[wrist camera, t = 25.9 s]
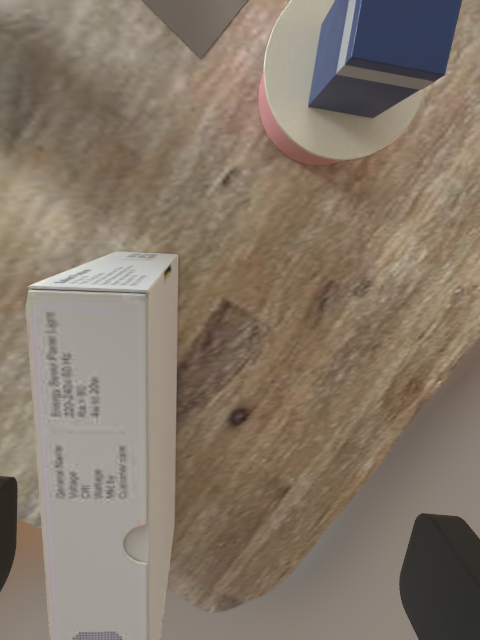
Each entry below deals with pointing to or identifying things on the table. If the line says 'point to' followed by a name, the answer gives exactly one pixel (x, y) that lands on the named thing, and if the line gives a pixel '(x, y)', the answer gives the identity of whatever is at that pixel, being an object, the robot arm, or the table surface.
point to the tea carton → (380, 53)
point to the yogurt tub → (294, 90)
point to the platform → (196, 19)
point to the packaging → (106, 441)
